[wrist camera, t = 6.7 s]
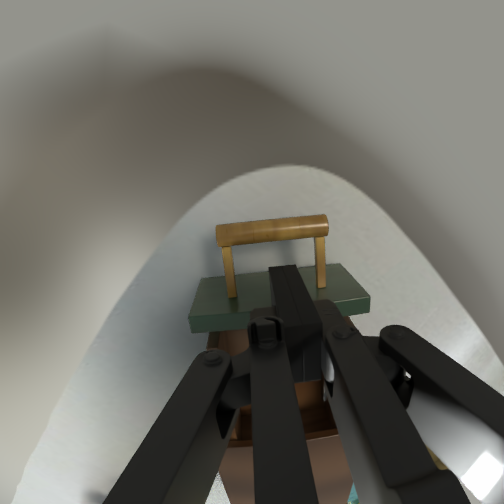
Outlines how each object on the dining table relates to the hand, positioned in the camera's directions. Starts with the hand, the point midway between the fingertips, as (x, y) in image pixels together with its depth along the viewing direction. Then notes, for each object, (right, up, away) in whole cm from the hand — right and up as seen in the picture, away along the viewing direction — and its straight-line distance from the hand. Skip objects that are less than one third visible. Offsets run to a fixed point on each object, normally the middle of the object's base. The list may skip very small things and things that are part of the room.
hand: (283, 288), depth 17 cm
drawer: (0, -5, +9) cm, 10 cm away
